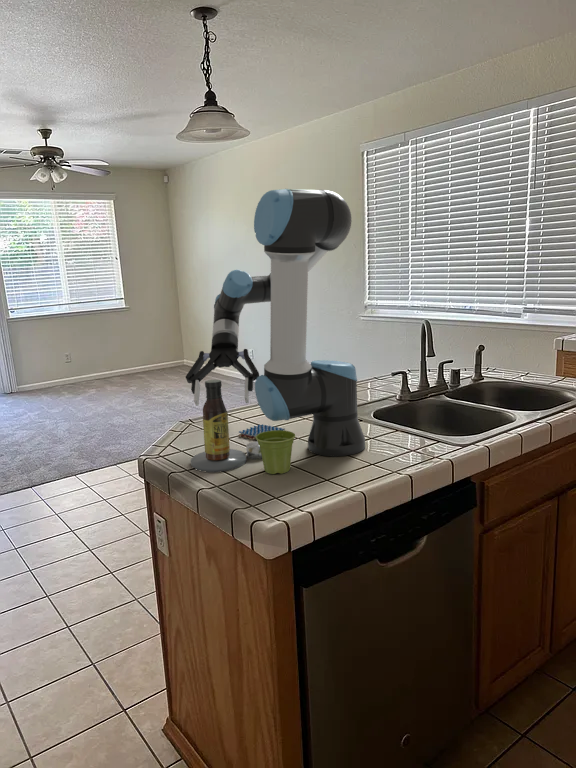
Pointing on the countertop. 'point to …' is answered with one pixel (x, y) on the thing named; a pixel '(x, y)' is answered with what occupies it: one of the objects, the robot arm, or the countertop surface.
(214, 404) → the sauce bottle
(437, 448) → the countertop surface
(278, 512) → the countertop surface
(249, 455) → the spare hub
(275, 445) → the plant pot
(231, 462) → the disc
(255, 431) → the woven mat
